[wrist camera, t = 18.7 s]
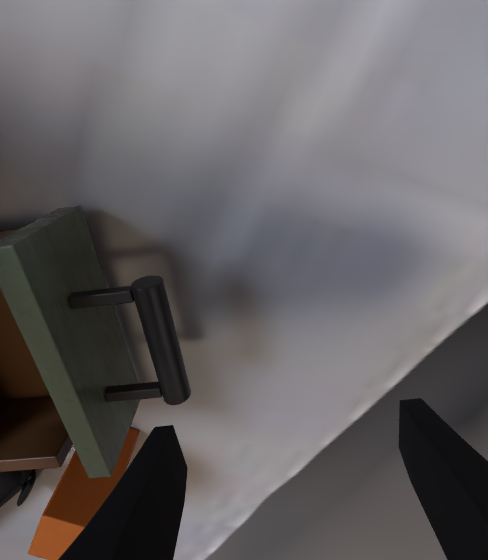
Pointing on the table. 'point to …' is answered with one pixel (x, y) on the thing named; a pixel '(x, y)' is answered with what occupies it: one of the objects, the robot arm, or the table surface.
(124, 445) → the snack box
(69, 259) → the drawer
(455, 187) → the table surface
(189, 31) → the table surface
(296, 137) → the table surface
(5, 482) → the carrying case
